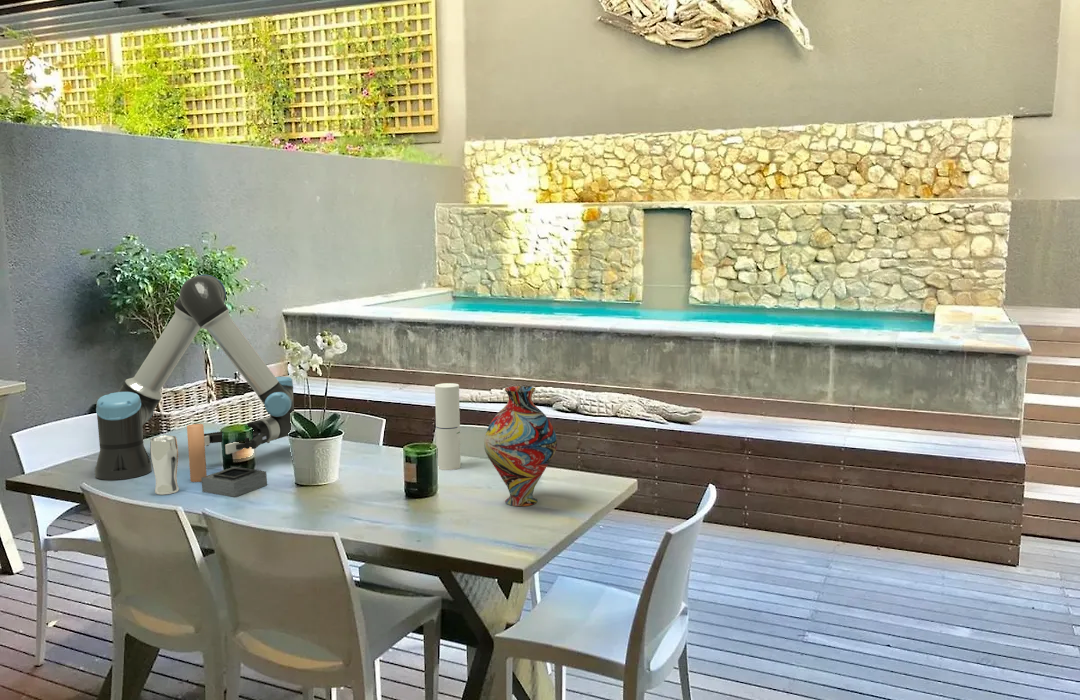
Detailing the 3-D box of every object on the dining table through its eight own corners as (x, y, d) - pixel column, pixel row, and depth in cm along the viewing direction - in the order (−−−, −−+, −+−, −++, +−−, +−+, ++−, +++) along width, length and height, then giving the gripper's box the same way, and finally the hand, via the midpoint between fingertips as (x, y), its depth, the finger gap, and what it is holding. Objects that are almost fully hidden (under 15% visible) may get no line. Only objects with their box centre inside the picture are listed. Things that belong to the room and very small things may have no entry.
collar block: (202, 491, 232) (201, 475, 232) (235, 480, 243) (234, 464, 242) (235, 497, 227) (234, 480, 227) (267, 485, 238) (266, 469, 237)
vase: (475, 495, 227) (473, 385, 223) (541, 487, 234) (540, 380, 230) (499, 517, 209) (497, 398, 205) (568, 507, 216) (568, 392, 212)
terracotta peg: (187, 480, 243) (183, 426, 241) (199, 476, 247) (195, 423, 244) (198, 482, 241) (194, 427, 239) (210, 478, 245) (206, 424, 243)
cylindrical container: (432, 466, 255) (430, 385, 252) (451, 462, 260) (449, 382, 257) (446, 471, 250) (444, 388, 247) (465, 466, 255) (463, 385, 252)
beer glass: (171, 486, 237) (168, 434, 235) (185, 490, 233) (182, 437, 231) (148, 492, 232) (144, 439, 230) (162, 496, 228) (158, 442, 226)
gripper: (293, 447, 260) (242, 464, 241) (231, 439, 270) (178, 455, 251) (291, 423, 259) (240, 438, 240) (230, 416, 269) (176, 430, 250)
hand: (208, 447), depth 245 cm, fingers open, 13 cm apart
